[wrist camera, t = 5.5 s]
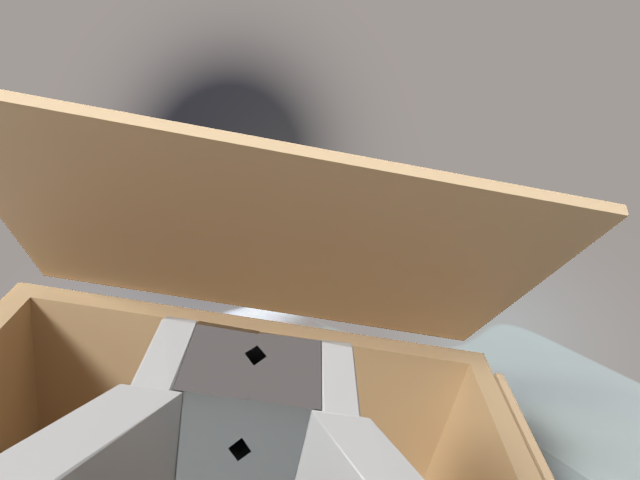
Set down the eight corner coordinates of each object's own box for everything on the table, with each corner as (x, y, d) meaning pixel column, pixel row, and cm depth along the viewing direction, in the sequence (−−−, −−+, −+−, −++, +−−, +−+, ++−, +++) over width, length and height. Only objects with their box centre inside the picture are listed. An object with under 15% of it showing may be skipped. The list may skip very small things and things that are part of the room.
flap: (463, 333, 20) (626, 204, 12) (463, 340, 20) (628, 215, 12) (46, 268, 19) (-95, 71, 11) (43, 275, 19) (-102, 82, 10)
